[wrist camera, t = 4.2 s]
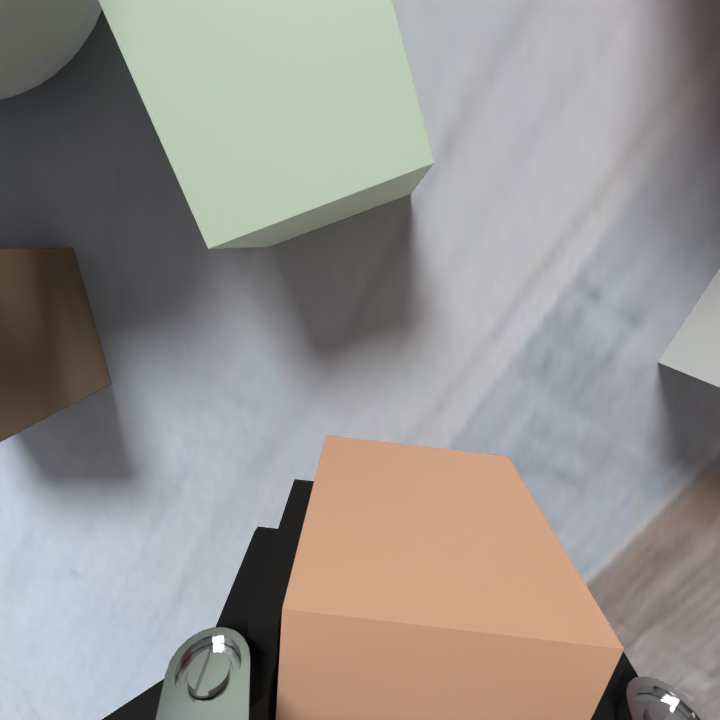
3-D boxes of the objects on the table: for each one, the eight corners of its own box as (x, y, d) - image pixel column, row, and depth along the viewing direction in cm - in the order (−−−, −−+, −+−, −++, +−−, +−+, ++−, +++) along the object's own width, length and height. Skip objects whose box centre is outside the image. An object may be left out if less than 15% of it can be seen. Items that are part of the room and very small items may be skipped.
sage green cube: (205, 85, 11) (86, -28, 7) (360, 17, 11) (349, -162, 6) (269, 246, 13) (207, 248, 8) (410, 194, 12) (433, 163, 7)
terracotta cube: (325, 435, 10) (281, 608, 5) (508, 456, 10) (624, 649, 5) (313, 575, 12) (271, 803, 7) (471, 593, 12) (535, 835, 7)
